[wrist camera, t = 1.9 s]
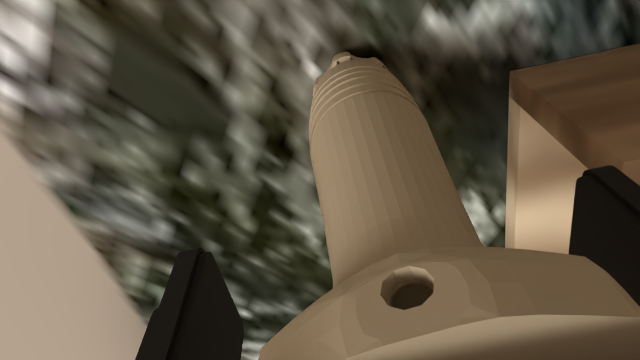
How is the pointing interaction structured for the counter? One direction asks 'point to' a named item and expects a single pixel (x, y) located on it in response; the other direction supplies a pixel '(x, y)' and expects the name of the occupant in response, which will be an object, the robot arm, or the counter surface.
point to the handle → (430, 252)
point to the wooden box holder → (567, 139)
